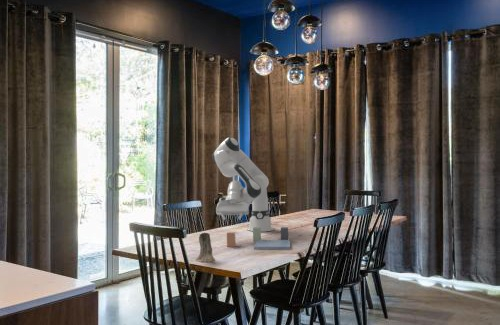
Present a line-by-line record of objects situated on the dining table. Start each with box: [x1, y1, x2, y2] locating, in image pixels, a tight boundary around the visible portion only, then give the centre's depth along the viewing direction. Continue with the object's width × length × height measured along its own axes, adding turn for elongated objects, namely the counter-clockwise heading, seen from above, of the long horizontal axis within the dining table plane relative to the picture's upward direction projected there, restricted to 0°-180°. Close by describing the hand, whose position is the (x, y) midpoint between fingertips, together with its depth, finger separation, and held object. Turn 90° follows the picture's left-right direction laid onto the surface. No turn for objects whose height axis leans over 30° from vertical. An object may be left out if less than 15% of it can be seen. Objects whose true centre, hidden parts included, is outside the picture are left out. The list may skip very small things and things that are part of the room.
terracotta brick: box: [226, 231, 237, 248], centre depth 257 cm, size 4×4×8 cm
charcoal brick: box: [280, 226, 289, 240], centre depth 270 cm, size 4×4×8 cm
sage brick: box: [252, 227, 262, 242], centre depth 272 cm, size 4×4×8 cm
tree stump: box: [195, 232, 216, 263], centre depth 224 cm, size 10×10×13 cm
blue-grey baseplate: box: [253, 239, 291, 250], centre depth 256 cm, size 20×20×2 cm
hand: (231, 219), depth 266 cm, fingers open, 8 cm apart
